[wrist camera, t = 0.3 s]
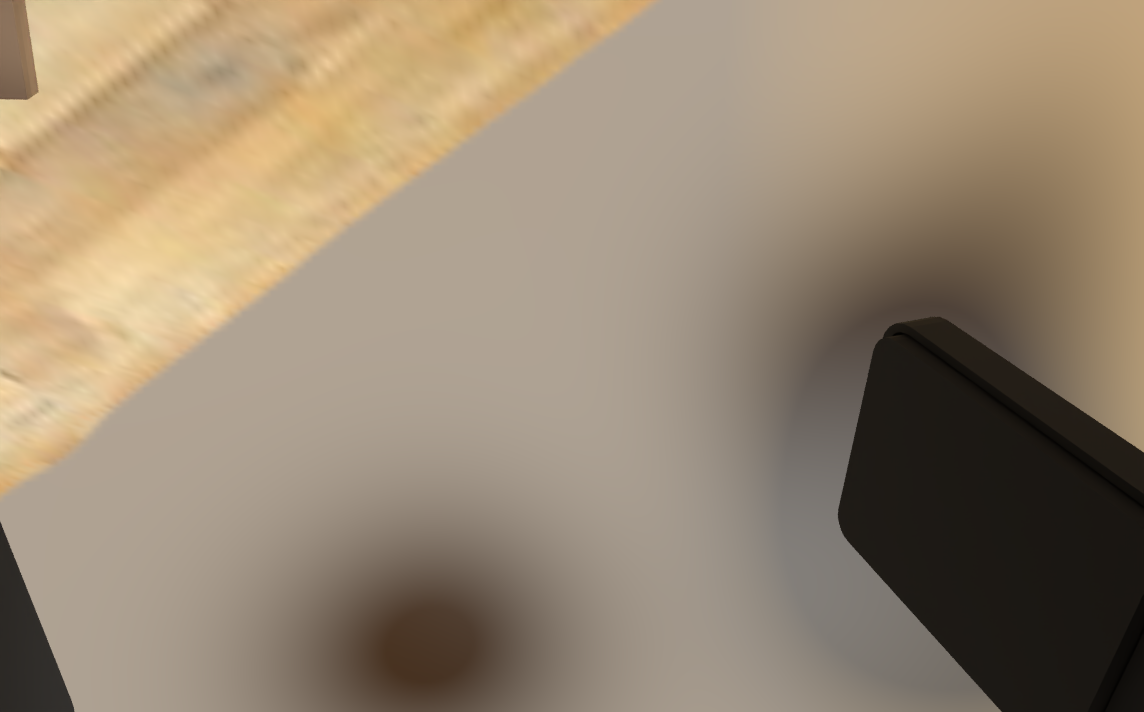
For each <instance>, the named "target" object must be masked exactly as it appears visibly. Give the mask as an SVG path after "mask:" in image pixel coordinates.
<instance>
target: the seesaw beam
mask: <svg viewBox="0 0 1144 712" xmlns="http://www.w3.org/2000/svg"><path fill="white" fill-rule="evenodd" d="M36 93H38V85H37V78H36V72H35V65H34V59H33V52H32V45H31V39H30V32H29V25H28V19H27V12H26V6H25V0H0V99H23V100H27V99H29V98H30V97H32V96H33V95H35V94H36Z"/></svg>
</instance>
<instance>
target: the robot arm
mask: <svg viewBox="0 0 1144 712" xmlns="http://www.w3.org/2000/svg"><path fill="white" fill-rule="evenodd" d="M838 520H839V524H840V528H841V531H842V533H843V535H844V537H845V538H846V539H847V541H848V542H849V543H850V544H851V545H852V546H853V547H854V548H855V550H856V551H857V552H858V553H859V554H860V555H861V556H862V557H863V559H865V561H866V562H867V563H868V564H869V565H870V566H871V567H872V568H873V570H874V571H875V572H876V573H877V574H878V575H879V576H880V577H881V578H882V580H883V581H884V582H885V583H886V584H887V585H888V586H889V587H890V588H891V589H892V591H893V592H894V593H895V594H896V595H897V596H898V597H899V598H900V600H901V601H902V602H903V603H904V604H905V605H906V606H907V607H908V608H909V610H910V611H911V612H912V613H913V614H914V615H915V616H916V617H917V618H918V619H919V620H920V622H921V623H922V624H923V625H924V626H925V627H926V628H927V629H928V631H929V632H930V633H931V634H932V635H933V636H934V637H935V638H936V639H937V640H938V642H939V643H940V644H941V645H942V646H943V647H944V648H945V649H946V651H948V653H949V654H950V655H951V656H952V657H953V658H954V659H955V660H956V662H957V663H958V664H959V665H960V666H961V667H962V668H963V669H964V670H965V672H966V673H967V674H968V675H969V676H970V677H971V678H972V679H973V680H974V682H976V684H977V685H978V686H979V687H980V688H981V689H982V690H983V692H984V693H985V694H986V695H987V696H988V697H989V698H990V699H991V700H992V701H993V703H994V704H995V705H996V706H997V707H998V708H999V709H1000V710H1001V711H1002V712H1144V452H1142V451H1141V450H1139V449H1138V448H1136V447H1135V446H1133V445H1132V444H1130V443H1129V442H1127V441H1126V440H1124V439H1123V438H1121V437H1120V436H1118V435H1117V434H1116V433H1114V432H1113V431H1111V430H1110V429H1108V428H1106V427H1105V426H1103V425H1102V424H1101V423H1099V422H1098V421H1096V420H1095V419H1093V418H1092V417H1090V416H1089V415H1087V414H1086V413H1084V412H1083V411H1081V410H1080V409H1078V408H1077V407H1075V406H1074V405H1072V404H1071V403H1069V402H1068V401H1066V400H1065V399H1063V398H1062V397H1060V396H1059V395H1057V394H1056V393H1055V392H1053V391H1052V390H1050V389H1048V388H1047V387H1046V386H1044V385H1043V384H1041V383H1040V382H1038V381H1037V380H1035V379H1034V378H1032V377H1031V376H1029V375H1028V374H1026V373H1025V372H1023V371H1022V370H1020V369H1019V368H1017V367H1016V366H1015V365H1013V364H1011V363H1010V362H1008V361H1007V360H1006V359H1004V358H1003V357H1001V356H1000V355H998V354H997V353H995V352H993V351H992V350H991V349H989V348H987V347H986V346H985V345H983V344H982V343H980V342H979V341H977V340H976V339H974V338H973V337H971V336H970V335H968V334H967V333H965V332H964V331H962V330H961V329H959V328H958V327H957V326H955V325H954V324H952V323H951V322H949V321H947V320H945V319H943V318H941V317H929V318H924V319H918V320H913V321H907V322H901V323H896V324H894V325H892V326H890V327H889V328H888V329H887V331H886V332H885V334H884V337H883V339H881V340H879V341H878V343H877V344H876V345H875V348H874V351H873V355H872V359H871V364H870V369H869V373H868V378H867V382H866V387H865V391H864V396H863V400H862V405H861V409H860V414H859V418H858V423H857V427H856V432H855V437H854V441H853V445H852V450H851V455H850V459H849V464H848V468H847V473H846V477H845V482H844V486H843V491H842V495H841V500H840V505H839V509H838ZM0 712H74V707H73V704H72V701H71V698H70V696H69V694H68V691H67V688H66V686H65V683H64V681H63V678H62V676H61V673H60V670H59V668H58V665H57V663H56V660H55V658H54V656H53V653H52V650H51V648H50V646H49V643H48V640H47V638H46V635H45V633H44V630H43V628H42V625H41V623H40V620H39V618H38V615H37V613H36V611H35V608H34V605H33V603H32V600H31V598H30V595H29V593H28V591H27V588H26V585H25V583H24V580H23V578H22V575H21V573H20V570H19V568H18V565H17V563H16V560H15V558H14V555H13V553H12V550H11V548H10V545H9V543H8V540H7V538H6V535H5V533H4V530H3V528H2V525H1V523H0Z"/></svg>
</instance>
